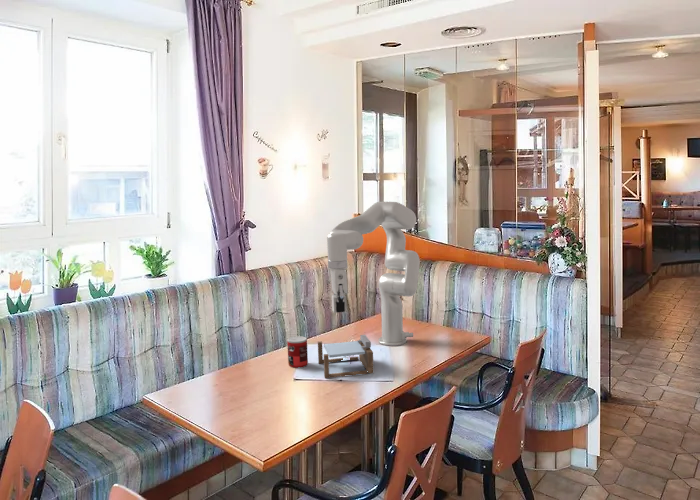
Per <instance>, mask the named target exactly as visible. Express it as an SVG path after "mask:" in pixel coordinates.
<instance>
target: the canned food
mask: <svg viewBox="0 0 700 500" xmlns="http://www.w3.org/2000/svg"><path fill="white" fill-rule="evenodd" d="M286 342H287V362H288V366H289V367H291V368H295V369H298V367H300V368H305V367H306V366H307V365H308V363H309V361H308V359H309V358H308V339H307V337H305V336H302V335H300V336H299V335H298V336H290V337H288V338H287V341H286ZM304 366H305V367H304Z"/></svg>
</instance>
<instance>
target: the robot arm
mask: <svg viewBox="0 0 700 500" xmlns="http://www.w3.org/2000/svg"><path fill="white" fill-rule="evenodd" d="M416 223H417V217H416V213H415V212H414V211H413V210H412V209H411V208H409V207H407V206H405V205H404V204H402V203H400V202H398V201H377V202H375V203H373V204H372V205H371V206H370V207H368V208H367V209H366V210H365V211H364V212H362V213H361V214H360V215H357V216H355V217H352V218H349V219H346V220H344V221H342V222H340V223H338V225H336V226H335V227H334V228H333V229H331V231H330V233H328V234H327V237H326V241H327V242H326V243H327V244H326V246H327V247H326V248H327V269H328V270H330V279H331V280H330V282H331V292H333V295H336V297H337V302H336V311H337V312H339V313H345V312H344V311H345V303H344V295H347V294H348V293H349V292H348V280H347V269H348V250H357V249H359V248H361V247H362V246H363V244H364V235H367V234H370V233H372V232H374V231H375V230H376V229H378V227H379V226H382V228H383V231H384V232H385V235H386V246H385V253H384V255H385V256H384V266H385V268H386V269H387V270H390V271H397V272H398V271H399V272H404V274H401V273H395V272H393V273H392V272H387V273H384V274H382V275H380V277H379V279H378V289H379V293H380V295H379V296H380V303H381V304H380V306H381V307H380V308H381V309H380V310H381V317H380V318H381V336H380V337H379V338H378V343H379V344H380V345H383V346H391V347H393V346H401V345H404V344H406V343H407V338H413V337H414V333H413V332H409V331H406V332H404V325H403V321H404V320H403V314H404V313H403V302H402V298H401V297H412V296H414V295H416V292H417V289H418V282H419V273H420V265H421V264H420V263H421V261H420V255H419V253H418V252H416V251H415V250H412V249H411V250H408V249H406V243H407V242H406V240H407V239H406V235H405V233H404V231H403V230H411V229H413V228H414V227H415V226H416ZM338 296H339V297H338ZM400 296H401V297H400Z"/></svg>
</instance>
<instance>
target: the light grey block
mask: <svg viewBox="0 0 700 500" xmlns="http://www.w3.org/2000/svg"><path fill="white" fill-rule="evenodd" d="M338 297H339V296H338ZM336 302H337V297H336V295H334V294H331V311H332V312H333V314H337V313H340V312H337V311H336ZM344 303H345V311H344V312H343V313H347V310H348V308H347V305H348V304H347V296H346V294H344Z"/></svg>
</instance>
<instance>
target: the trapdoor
mask: <svg viewBox="0 0 700 500" xmlns="http://www.w3.org/2000/svg"><path fill="white" fill-rule="evenodd" d="M359 337H360V339H358V340H356V341H355V340H353V341H345V342H344V341H343V342H335V343H324V344H323V348H324V349H325V351H326V354H328V357H329V359H332V358H339V357H340V358H341V357H348V356H349V357H351V356H358V355H360V354H365V351H364V349H363V348H370V349H371V347H372V346H371V345H372V343H371V340H370V338H368V336H367V335H366V334H361V335H360V336H359ZM359 342H362V343H363V344H364V345H365V346H361V345H360V344H359Z"/></svg>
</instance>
